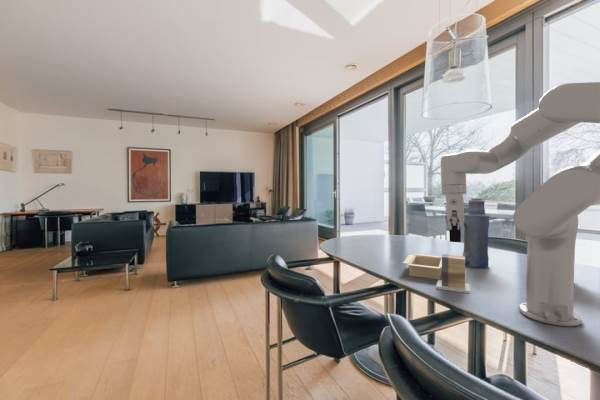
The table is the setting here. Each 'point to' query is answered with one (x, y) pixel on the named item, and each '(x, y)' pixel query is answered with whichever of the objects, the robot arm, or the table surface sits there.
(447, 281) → the block
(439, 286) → the felt mat
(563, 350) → the table surface
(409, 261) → the carton
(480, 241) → the bottle
